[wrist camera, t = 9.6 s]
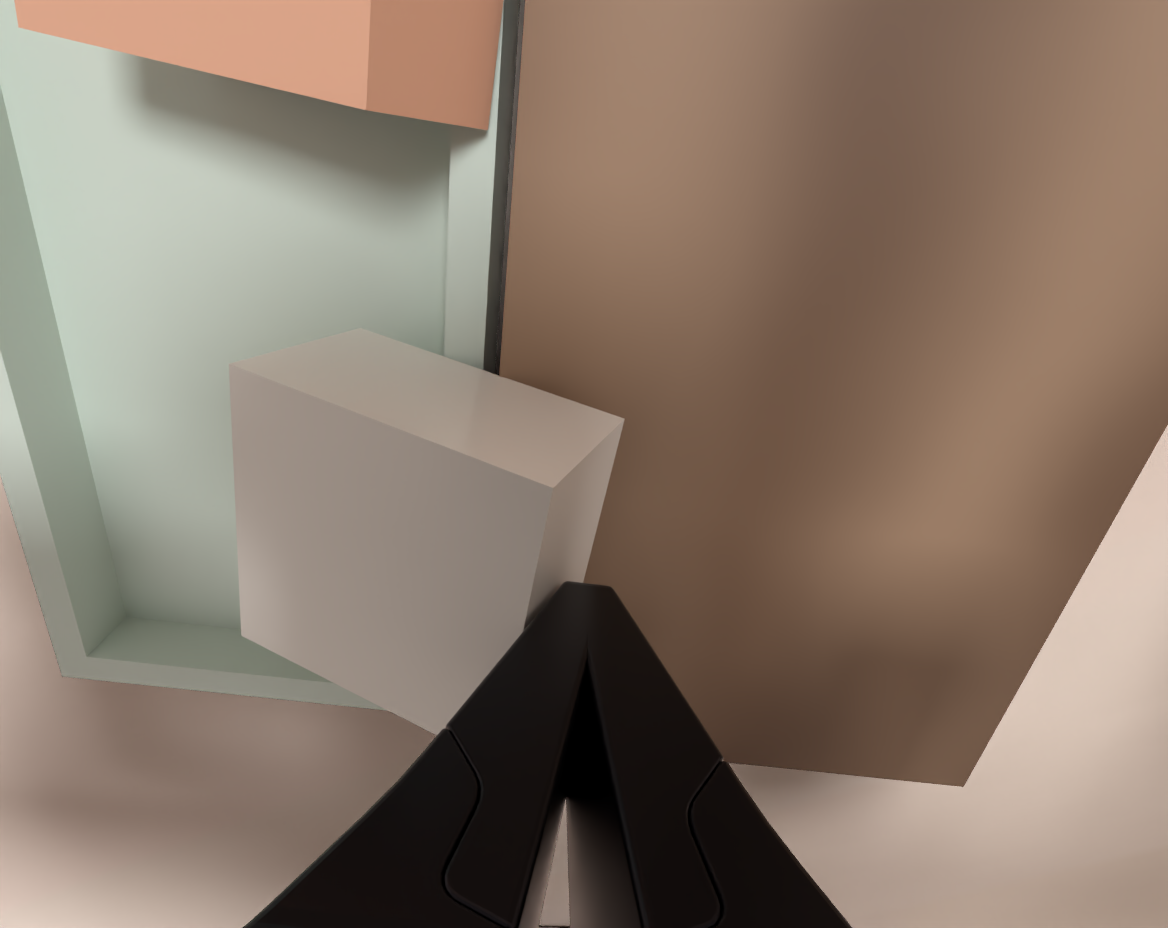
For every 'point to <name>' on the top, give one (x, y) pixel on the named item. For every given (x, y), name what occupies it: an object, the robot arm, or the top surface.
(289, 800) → the top surface
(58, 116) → the green tray
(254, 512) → the cream tile
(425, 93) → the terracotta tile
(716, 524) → the walnut board
